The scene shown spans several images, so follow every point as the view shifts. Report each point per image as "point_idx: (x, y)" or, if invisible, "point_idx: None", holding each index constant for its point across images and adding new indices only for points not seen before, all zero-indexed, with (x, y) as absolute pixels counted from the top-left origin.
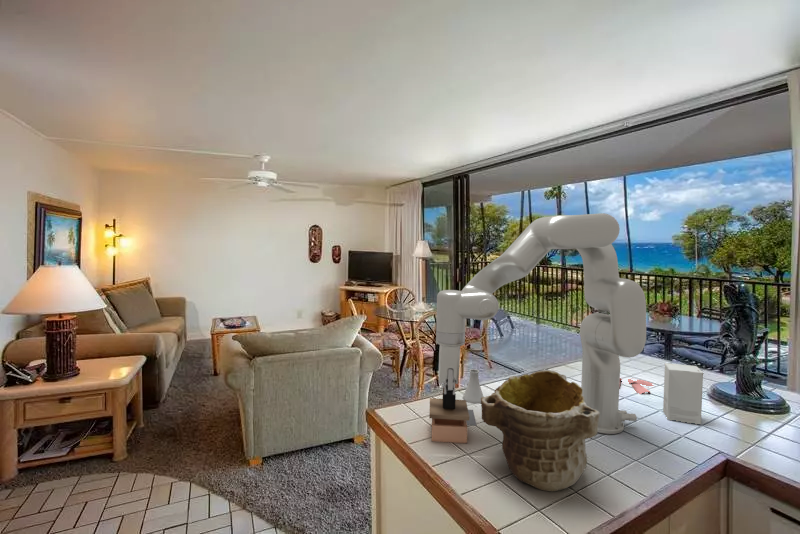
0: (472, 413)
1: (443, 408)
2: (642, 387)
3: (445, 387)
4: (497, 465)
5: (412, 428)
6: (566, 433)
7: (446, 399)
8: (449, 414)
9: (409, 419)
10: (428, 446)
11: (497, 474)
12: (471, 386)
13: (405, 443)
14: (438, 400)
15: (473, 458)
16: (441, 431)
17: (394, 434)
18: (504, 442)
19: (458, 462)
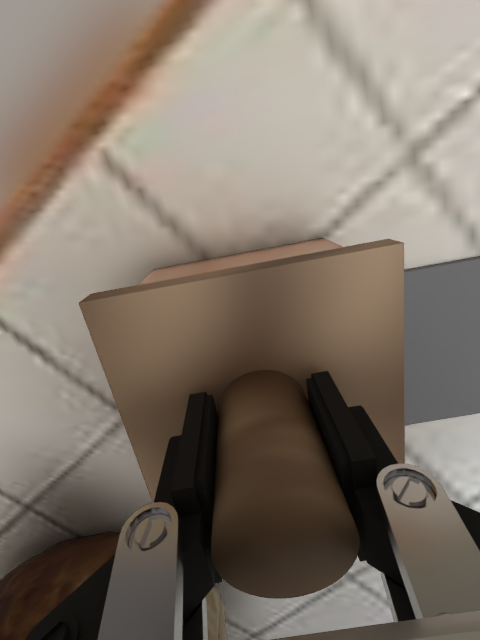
0: (468, 409)
1: (191, 395)
2: None
3: (110, 623)
4: (99, 501)
5: (265, 132)
6: None
7: (160, 481)
8: (145, 430)
9: (374, 80)
10: (116, 261)
11: (49, 503)
12: None
13: (93, 133)
14: (365, 323)
15: (106, 437)
16: None
17: (162, 28)
18: (19, 632)
19: (55, 394)
